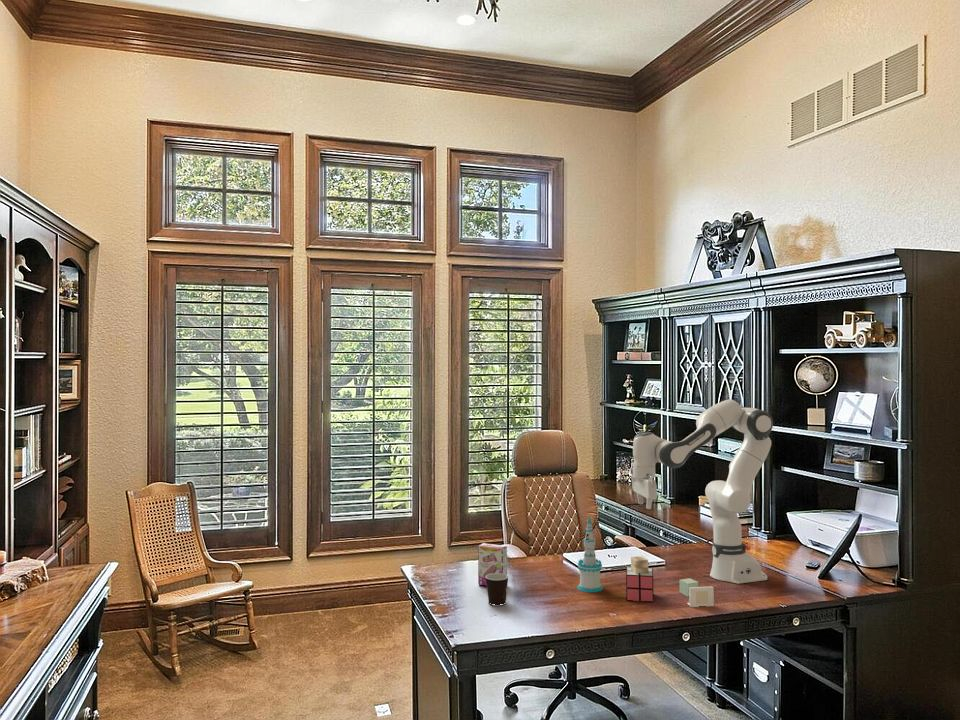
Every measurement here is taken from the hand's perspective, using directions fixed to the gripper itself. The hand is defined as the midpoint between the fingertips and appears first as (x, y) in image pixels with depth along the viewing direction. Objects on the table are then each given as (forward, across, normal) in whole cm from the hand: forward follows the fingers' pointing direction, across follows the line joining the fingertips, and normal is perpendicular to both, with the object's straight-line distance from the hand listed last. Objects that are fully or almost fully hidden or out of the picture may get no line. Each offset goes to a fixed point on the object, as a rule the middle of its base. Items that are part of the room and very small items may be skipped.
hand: (644, 506), depth 288 cm
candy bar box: (+31, +6, +62) cm, 70 cm away
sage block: (+31, -15, -12) cm, 37 cm away
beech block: (+21, -16, +8) cm, 28 cm away
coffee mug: (+31, -13, +62) cm, 71 cm away
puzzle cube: (+32, -16, +8) cm, 36 cm away
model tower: (+31, -3, +24) cm, 40 cm away
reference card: (+31, -29, -11) cm, 44 cm away
